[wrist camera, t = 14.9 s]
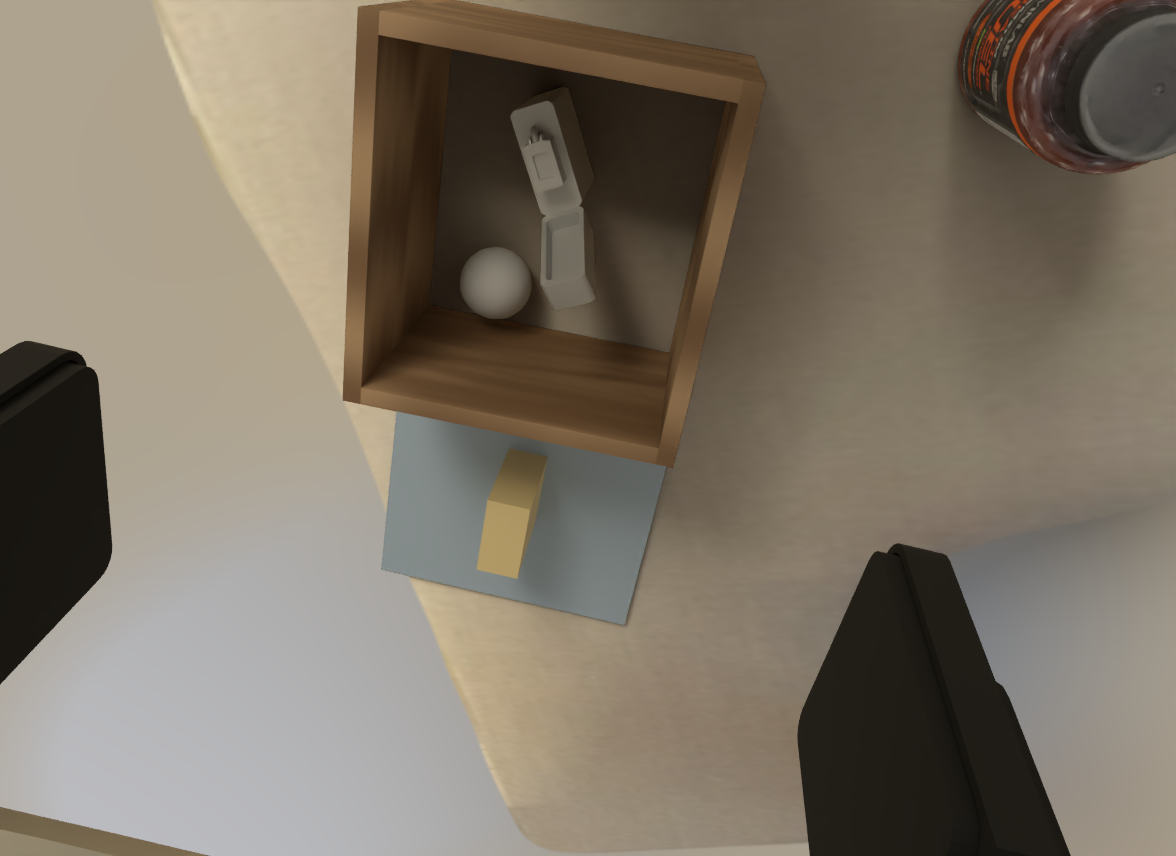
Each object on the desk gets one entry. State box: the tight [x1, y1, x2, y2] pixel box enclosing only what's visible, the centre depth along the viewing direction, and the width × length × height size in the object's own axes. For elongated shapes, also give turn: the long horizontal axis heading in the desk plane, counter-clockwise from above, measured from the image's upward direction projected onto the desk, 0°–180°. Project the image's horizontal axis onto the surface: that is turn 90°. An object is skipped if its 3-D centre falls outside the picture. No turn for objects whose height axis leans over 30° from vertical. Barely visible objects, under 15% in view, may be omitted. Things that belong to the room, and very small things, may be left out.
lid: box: [381, 412, 666, 625], centre depth 45 cm, size 15×14×6 cm
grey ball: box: [460, 247, 532, 319], centre depth 40 cm, size 3×3×3 cm
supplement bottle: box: [958, 0, 1176, 174], centre depth 30 cm, size 6×6×11 cm
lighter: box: [510, 87, 596, 311], centre depth 36 cm, size 7×2×8 cm, turn 17°
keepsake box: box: [343, 0, 766, 468], centre depth 36 cm, size 14×13×10 cm
